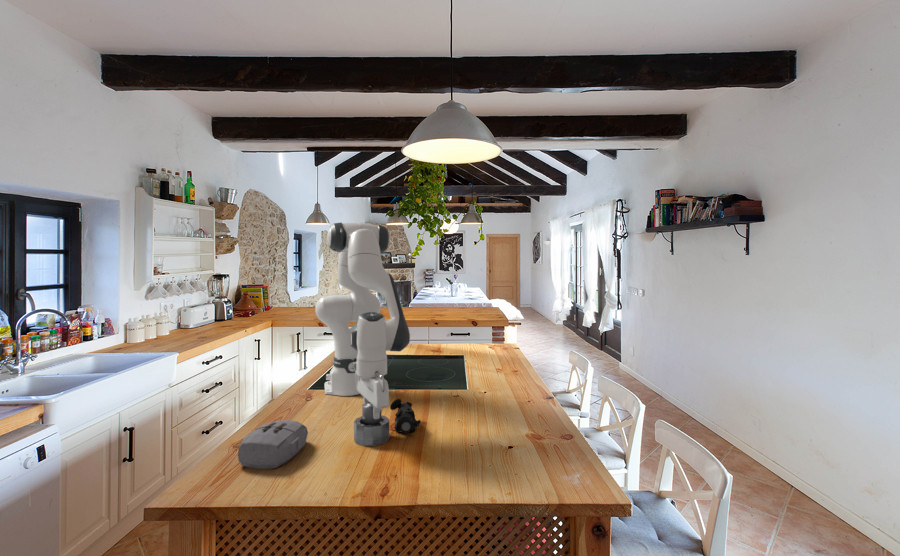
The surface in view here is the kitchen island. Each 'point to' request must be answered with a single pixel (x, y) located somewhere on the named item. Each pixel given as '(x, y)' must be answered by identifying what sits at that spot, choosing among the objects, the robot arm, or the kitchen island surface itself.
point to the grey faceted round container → (371, 432)
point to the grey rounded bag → (272, 444)
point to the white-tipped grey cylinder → (369, 414)
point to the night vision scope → (404, 417)
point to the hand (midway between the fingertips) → (372, 414)
